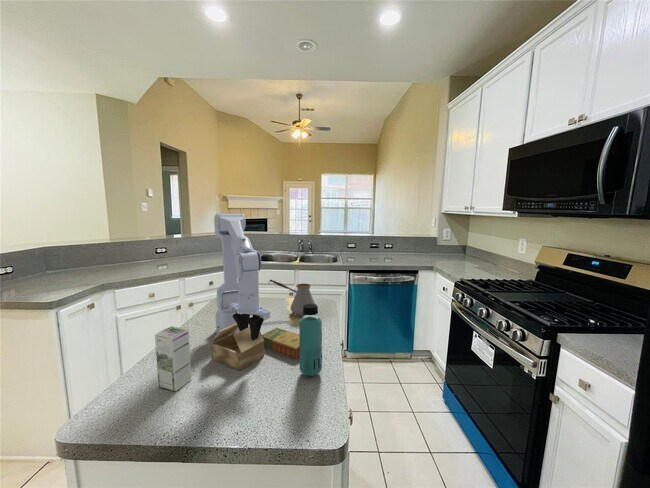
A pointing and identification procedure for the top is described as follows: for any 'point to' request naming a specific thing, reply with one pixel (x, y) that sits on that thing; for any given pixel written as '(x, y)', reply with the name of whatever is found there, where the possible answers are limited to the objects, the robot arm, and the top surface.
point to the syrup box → (173, 358)
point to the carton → (282, 342)
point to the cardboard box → (235, 353)
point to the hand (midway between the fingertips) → (249, 337)
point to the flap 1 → (225, 332)
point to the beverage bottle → (310, 341)
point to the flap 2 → (246, 339)
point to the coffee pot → (299, 297)
